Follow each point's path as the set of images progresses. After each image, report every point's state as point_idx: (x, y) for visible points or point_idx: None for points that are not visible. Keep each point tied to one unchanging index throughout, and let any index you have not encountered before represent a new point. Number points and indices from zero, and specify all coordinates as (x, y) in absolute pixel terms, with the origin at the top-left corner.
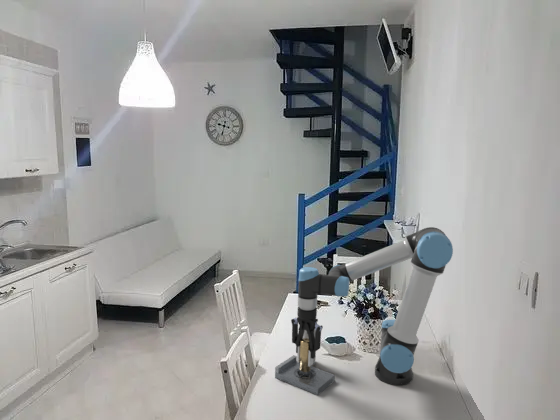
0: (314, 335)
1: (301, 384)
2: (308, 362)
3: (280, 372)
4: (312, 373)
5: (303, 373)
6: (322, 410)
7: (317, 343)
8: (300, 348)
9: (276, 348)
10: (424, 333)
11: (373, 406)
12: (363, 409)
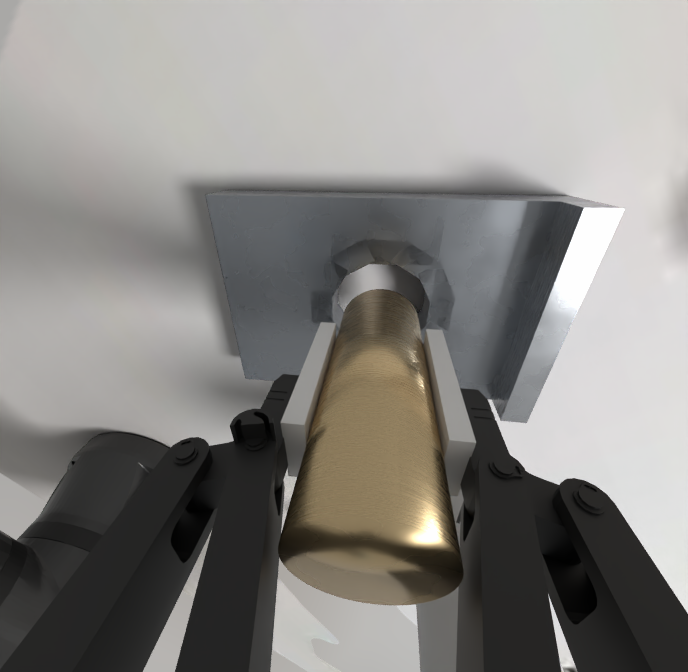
0: (421, 616)
1: (338, 194)
2: (325, 339)
3: (546, 221)
4: None
5: None
6: (83, 37)
7: (89, 557)
8: (423, 425)
9: (658, 465)
10: None
11: (12, 275)
12: (5, 225)
